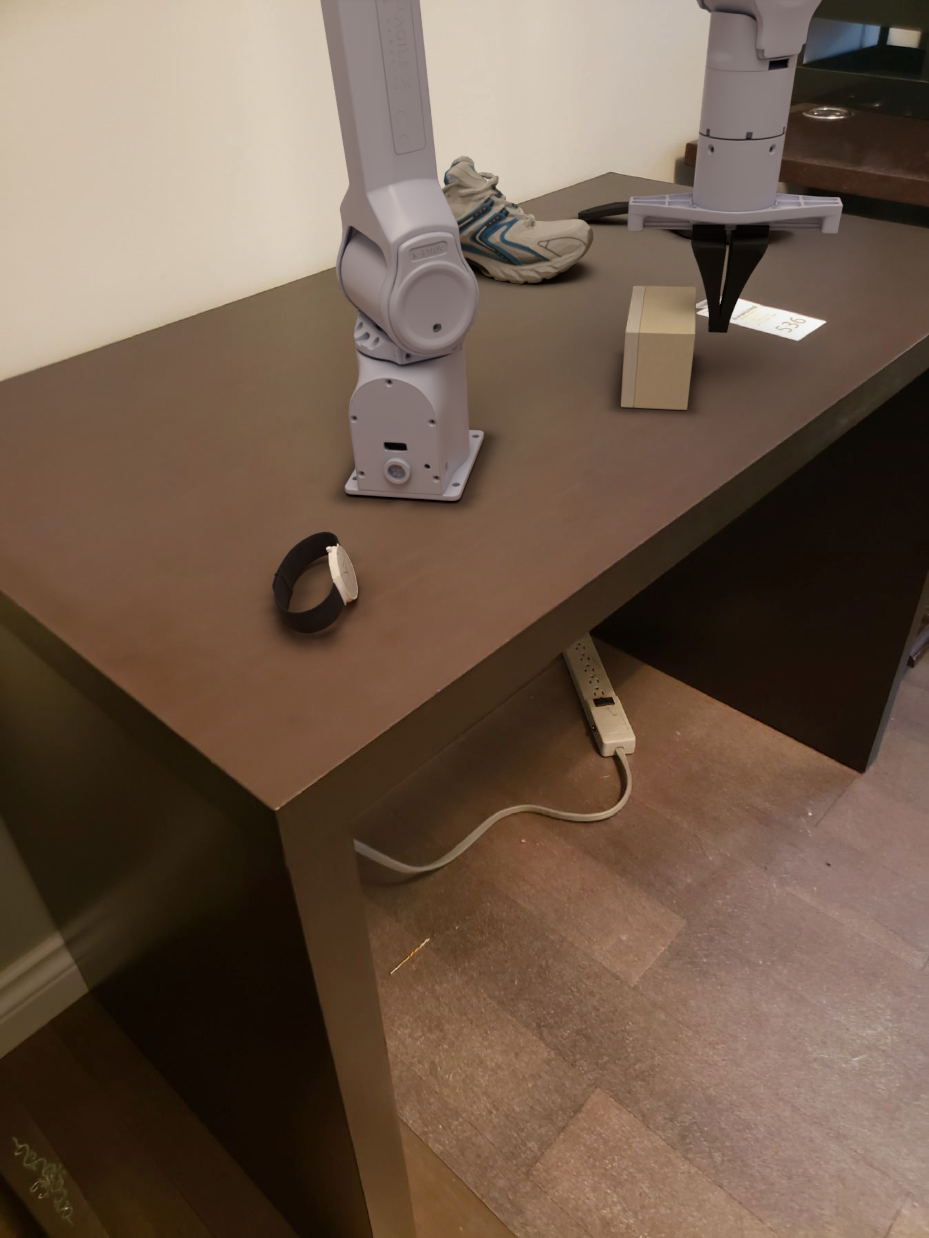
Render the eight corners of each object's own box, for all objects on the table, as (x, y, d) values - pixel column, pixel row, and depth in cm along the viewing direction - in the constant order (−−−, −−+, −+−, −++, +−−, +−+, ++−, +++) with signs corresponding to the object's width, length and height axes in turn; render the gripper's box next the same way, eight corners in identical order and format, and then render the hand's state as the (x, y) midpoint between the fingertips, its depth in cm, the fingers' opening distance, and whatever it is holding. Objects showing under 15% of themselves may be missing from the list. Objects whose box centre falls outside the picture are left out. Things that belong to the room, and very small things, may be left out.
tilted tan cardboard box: (687, 410, 71) (695, 333, 67) (620, 407, 72) (625, 331, 68) (688, 358, 79) (696, 286, 75) (628, 356, 80) (633, 285, 76)
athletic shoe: (588, 285, 93) (594, 150, 88) (367, 284, 97) (360, 156, 92) (597, 277, 102) (602, 154, 97) (394, 276, 106) (389, 159, 101)
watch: (355, 639, 51) (347, 586, 49) (269, 645, 51) (257, 592, 49) (360, 560, 57) (353, 509, 55) (283, 565, 57) (273, 514, 55)
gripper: (848, 118, 65) (812, 311, 73) (637, 120, 68) (625, 306, 76) (860, 141, 60) (820, 346, 68) (630, 142, 62) (619, 340, 71)
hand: (717, 328), depth 72 cm, fingers closed
